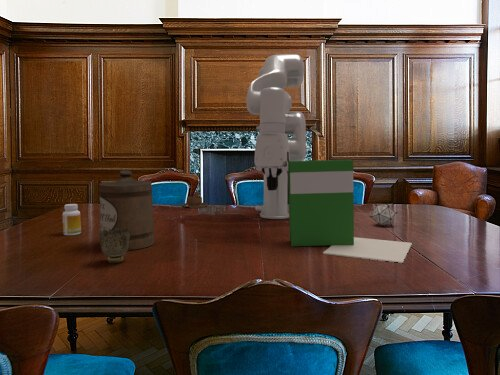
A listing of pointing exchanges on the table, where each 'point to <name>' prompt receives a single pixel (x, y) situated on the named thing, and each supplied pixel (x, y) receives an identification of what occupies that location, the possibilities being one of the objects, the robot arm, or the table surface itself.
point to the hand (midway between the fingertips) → (272, 189)
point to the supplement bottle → (71, 220)
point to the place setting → (195, 202)
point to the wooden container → (128, 209)
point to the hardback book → (321, 202)
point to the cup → (114, 243)
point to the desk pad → (372, 250)
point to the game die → (383, 214)
